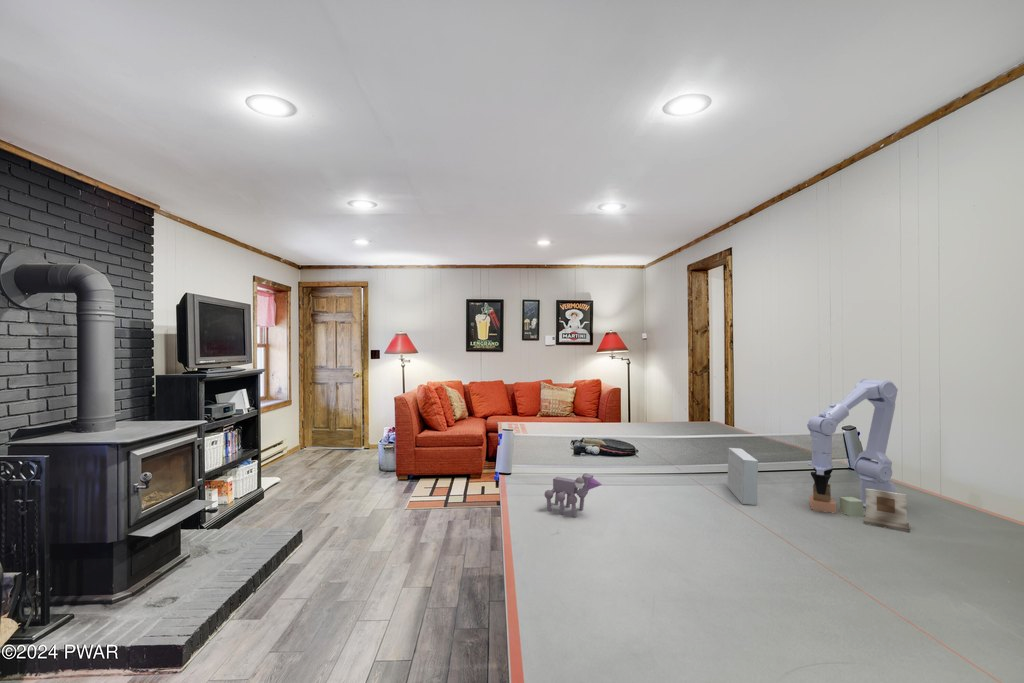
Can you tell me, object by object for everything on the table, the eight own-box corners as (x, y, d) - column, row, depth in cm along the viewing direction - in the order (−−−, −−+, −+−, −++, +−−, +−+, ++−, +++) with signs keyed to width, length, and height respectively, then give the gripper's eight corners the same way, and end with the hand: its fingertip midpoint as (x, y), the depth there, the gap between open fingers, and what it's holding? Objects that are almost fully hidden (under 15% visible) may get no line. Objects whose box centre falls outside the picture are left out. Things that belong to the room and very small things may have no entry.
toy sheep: (609, 513, 155) (608, 473, 155) (596, 525, 147) (594, 482, 146) (557, 502, 167) (556, 464, 166) (542, 512, 158) (540, 473, 158)
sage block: (852, 511, 156) (852, 496, 156) (863, 516, 151) (863, 501, 152) (839, 511, 156) (839, 497, 156) (850, 516, 151) (849, 501, 151)
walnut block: (815, 496, 162) (814, 482, 162) (830, 498, 159) (830, 484, 159) (813, 499, 158) (813, 485, 158) (829, 502, 156) (828, 487, 156)
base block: (809, 504, 164) (809, 495, 164) (833, 508, 160) (833, 498, 160) (811, 511, 157) (811, 500, 157) (836, 514, 154) (835, 504, 154)
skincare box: (759, 505, 162) (758, 460, 162) (742, 504, 163) (741, 459, 163) (741, 487, 183) (741, 447, 183) (727, 486, 184) (726, 447, 184)
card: (908, 526, 143) (908, 493, 143) (909, 532, 138) (909, 499, 138) (864, 518, 150) (863, 487, 150) (863, 523, 145) (863, 491, 145)
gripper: (810, 446, 167) (810, 484, 167) (805, 454, 156) (806, 494, 156) (833, 449, 163) (834, 487, 163) (831, 457, 151) (831, 498, 151)
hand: (822, 491), depth 159 cm, fingers open, 7 cm apart
